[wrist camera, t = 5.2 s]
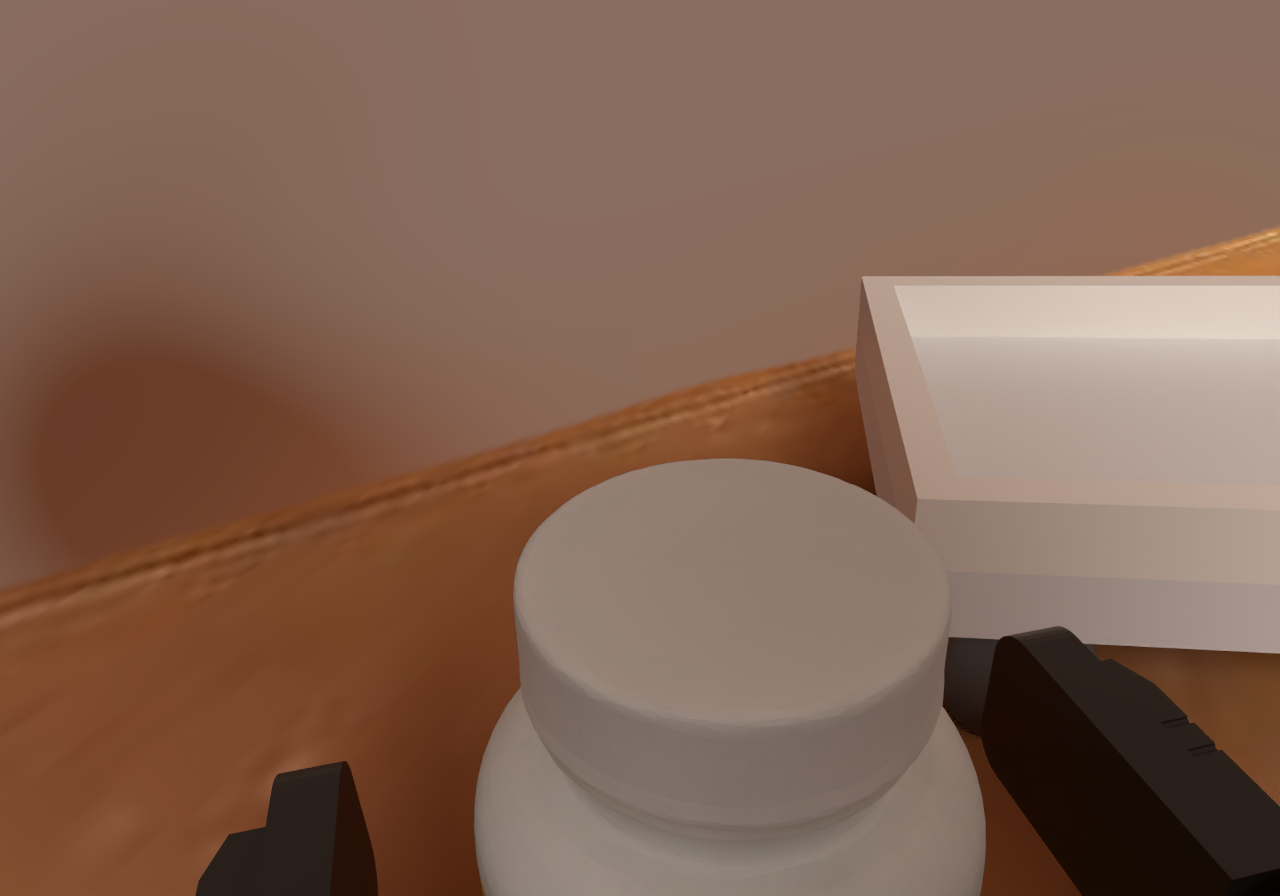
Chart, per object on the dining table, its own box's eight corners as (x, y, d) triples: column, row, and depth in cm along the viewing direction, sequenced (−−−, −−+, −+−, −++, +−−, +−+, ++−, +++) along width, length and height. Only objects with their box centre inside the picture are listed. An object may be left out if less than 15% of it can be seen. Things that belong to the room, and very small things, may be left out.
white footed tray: (887, 749, 19) (917, 499, 16) (847, 459, 29) (861, 276, 26) (1930, 818, 16) (2190, 537, 13) (1480, 475, 27) (1572, 275, 24)
